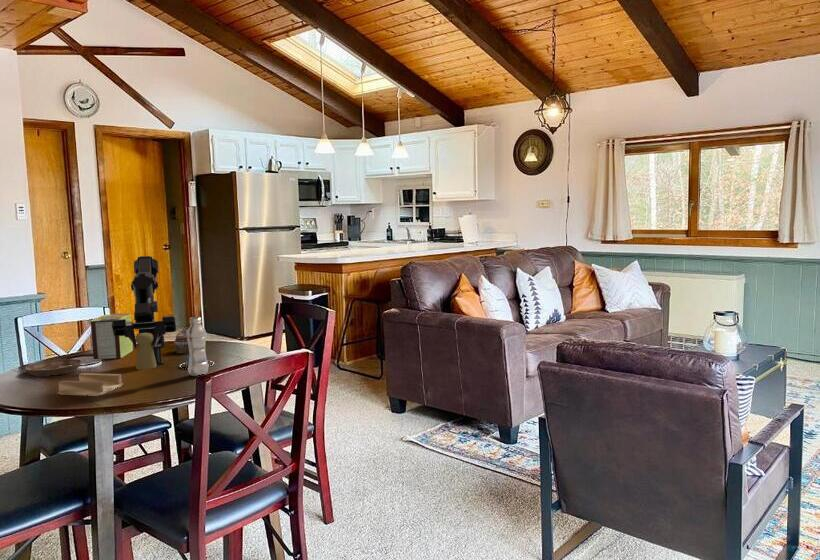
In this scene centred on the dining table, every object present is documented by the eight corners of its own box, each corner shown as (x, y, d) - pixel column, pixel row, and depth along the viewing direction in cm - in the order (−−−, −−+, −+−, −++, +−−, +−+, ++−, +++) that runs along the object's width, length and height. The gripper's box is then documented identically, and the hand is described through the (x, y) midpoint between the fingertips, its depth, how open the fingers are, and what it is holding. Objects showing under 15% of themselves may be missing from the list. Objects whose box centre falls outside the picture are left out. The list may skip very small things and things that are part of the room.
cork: (149, 369, 191) (147, 335, 190) (132, 369, 193) (129, 334, 191) (160, 365, 197) (158, 331, 196) (144, 364, 198) (141, 331, 197)
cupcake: (181, 349, 254) (180, 325, 252) (203, 349, 252) (202, 325, 252) (170, 354, 244) (168, 329, 243) (193, 354, 243) (191, 329, 242)
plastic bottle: (212, 373, 211) (209, 316, 209) (200, 378, 205) (196, 319, 203) (197, 372, 214) (194, 315, 212) (184, 377, 207) (180, 319, 205)
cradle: (84, 384, 201) (83, 372, 201) (123, 385, 199) (122, 373, 198) (57, 394, 189) (56, 382, 189) (98, 395, 187) (97, 383, 187)
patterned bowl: (220, 363, 228) (220, 349, 228) (202, 371, 217) (201, 356, 216) (192, 362, 231) (191, 348, 231) (172, 369, 220) (172, 355, 219)
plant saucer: (29, 369, 224) (28, 361, 223) (84, 364, 231) (83, 356, 231) (21, 381, 208) (20, 372, 207) (80, 374, 215) (79, 366, 215)
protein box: (133, 350, 253) (130, 313, 251) (121, 358, 238) (118, 319, 236) (106, 351, 251) (104, 314, 250) (92, 360, 236) (89, 320, 235)
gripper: (110, 294, 193) (108, 335, 184) (173, 291, 199) (175, 330, 190) (114, 315, 201) (113, 355, 192) (175, 311, 207) (177, 350, 198)
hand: (144, 347), depth 193 cm, fingers closed on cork, 5 cm apart
